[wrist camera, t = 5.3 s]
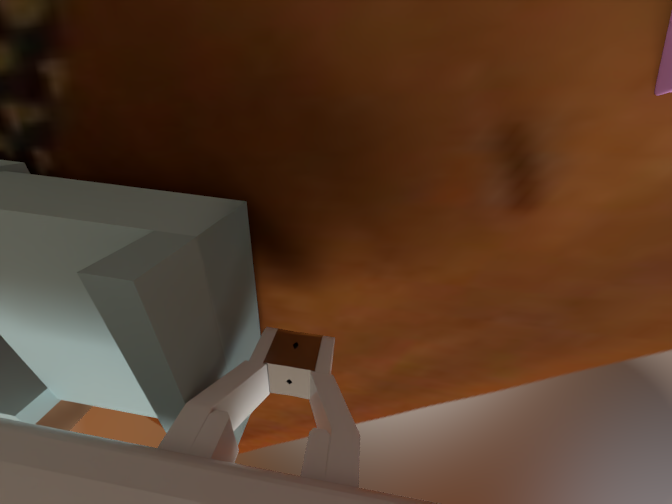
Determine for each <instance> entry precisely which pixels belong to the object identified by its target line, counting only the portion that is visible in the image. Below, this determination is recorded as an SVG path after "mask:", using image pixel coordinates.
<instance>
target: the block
mask: <svg viewBox="0 0 672 504" xmlns="http://www.w3.org/2000/svg"><path fill="white" fill-rule="evenodd" d="M91 407H92V406H91V405H86V404H81V403H76V402H70V401H65V400H60V401H59V402H58V403H57V404H56V405H55V406H54V407H53V408H52V409H51V410H50V411H49V412H48V413H46V414H45V415H44V416H43V417H42V418H41V419H40V420H39V421H38V422H37V423H36V425H41V426H46V427H51V428H56V429H62V430H67V431H70V429H72V428H73V426H74V425H75V424H76V423H77V422H78V421H79V420H80V419H81V418H82V417H83V416H84V415H85V414H86V413H87V412H88V411H89V409H91Z"/></svg>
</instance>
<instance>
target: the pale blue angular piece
mask: <svg viewBox="0 0 672 504" xmlns="http://www.w3.org/2000/svg"><path fill="white" fill-rule="evenodd" d="M260 337H261V334H260V325H259V315H258V306H257V296H256V287H255V277H254V268H253V258H252V248H251V239H250V229H249V220H248V210H247V201H240V200H232V199H224V198H216V197H208V196H200V195H193V194H185V193H177V192H169V191H161V190H153V189H145V188H137V187H129V186H121V185H113V184H105V183H97V182H90V181H82V180H74V179H66V178H58V177H50V176H42V175H34V174H30V172H29V171H28V169H27V167H26V165H25V163H23V162H15V161H7V160H0V418H5V419H10V420H16V421H21V422H26V423H31V424H36V423H37V422H38V421H39V420H40V419H41V418H42V417H43V416H44V415H45V414H46V413H48V412H49V411H50V410H51V409H52V408H53V407H54V406H55V405H56V404H57V403H58V402H59V401H60V400H65V401H70V402H76V403H81V404H86V405H91V406H97V407H103V408H108V409H113V410H118V411H123V412H128V413H134V414H139V415H144V416H149V417H155V418H158V419H159V421H160V423H161V424H162V426H163V428H164V430H165V431H166V433H167V432H168V431H169V429H170V427H171V426H172V424H173V423H174V421H175V420H176V418H177V416H178V415H179V413H180V412H181V410H182V409H183V407H184V406H185V404H186V403H187V402H188V401H190V400H191V399H193V398H194V397H195V396H197V395H198V394H199V393H201V392H202V391H204V390H205V389H206V388H208V387H209V386H210V385H212V384H213V383H215V382H216V381H217V380H219V379H220V378H222V377H223V376H224V375H226V374H227V373H228V372H230V371H231V370H233V369H234V368H235V367H237V366H238V365H239V364H241V363H242V362H244V361H245V360H247V361H249V360H250V358H251V356H252V353H253V351H254V349H255V347H256V345H257V343H258V341H259V339H260ZM249 416H250V415H249ZM249 416H248V417H247V418H246V419H245V420H244V421H243V422H242V423H241V424H240V425H239V426H238V427H237V428H236V429H235V430H234V435H235V439H236V442H237V446H238V444H239V441H240V439H241V436H242V434H243V431H244V429H245V426H246V424H247V421H248V419H249Z"/></svg>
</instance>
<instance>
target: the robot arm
mask: <svg viewBox="0 0 672 504" xmlns="http://www.w3.org/2000/svg"><path fill="white" fill-rule="evenodd" d="M334 343H335V338H334V337H328V336H323V335H316V334H309V333H302V332H300V333H299V332H294V331H288V330H283V329H277V328H271V327H266V328H265V330H264V331H263V333H262V335H261V337H260V339H259V341H258V343H257V345H256V347H255V349H254V351H253V353H252V356H251V358H250V360H249V361H247V360H245V361H244V362H242V363H241V364H239V365H238V366H237V367H235V368H234V369H233V370H231V371H230V372H228V373H227V374H226V375H224V376H223V377H222V378H220V379H219V380H217V381H216V382H215V383H213V384H212V385H210V386H209V387H208V388H206V389H205V390H204V391H202V392H201V393H199V394H198V395H197V396H195V397H194V398H193V399H191V400H190V401H188V402H187V403H186V404H185V406H184V407H183V409H182V410H181V412H180V413H179V415H178V416H177V418H176V420H175V421H174V423H173V424H172V426H171V427H170V429H169V431H168V432H167V434H166V435H165V437H164V438H163V440H162V441H161V443H160V445H159V446H158V448H153V447H149V446H143V445H138V444H133V443H128V442H123V441H118V440H112V439H107V438H103V437H97V436H92V435H87V434H82V433H77V432H72V431H67V430H62V429H56V428H51V427H46V426H41V425H36V424H31V423H26V422H21V421H16V420H10V419H5V418H0V504H440V503H434V502H430V501H424V500H419V499H414V498H409V497H404V496H398V495H394V494H388V493H384V492H378V491H373V490H368V489H363V488H359V455H360V434H359V432H358V429H357V427H356V425H355V423H354V420H353V418H352V416H351V414H350V412H349V409H348V407H347V405H346V403H345V400H344V398H343V396H342V394H341V392H340V389H339V387H338V385H337V383H336V380H335V378H334V376H333V375H331V368H332V360H333V351H334ZM269 392H270V393H277V394H284V395H291V396H296V397H301V398H305V399H309V401H310V404H311V408H312V411H313V414H314V418H315V421H316V425H317V428H318V429H317V428H313V429H312V430H311V431H310V432H309V437H308V442H307V447H306V451H305V456H304V461H303V466H302V471H301V476H296V475H292V474H287V473H281V472H276V471H271V470H266V469H261V468H256V467H251V466H246V465H241V464H235V463H234V462H235V459H236V457H237V454H238V451H239V450H238V446H237V442H236V439H235V435H234V430H235V429H236V428H237V427H238V426H239V425H240V424H241V423H242V422H243V421H244V420H245V419H246V418H247V417H248V416H249V415H250V414H251V413H252V412H253V411H254V410H255V409H256V408H257V406H258V405H259V404H260V403H261V402H262V401H263V400H264V399H265V398H266V397H267V396H268V395H269V394H270V393H269Z"/></svg>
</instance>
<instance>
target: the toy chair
mask: <svg viewBox="0 0 672 504" xmlns="http://www.w3.org/2000/svg"><path fill="white" fill-rule="evenodd" d="M671 91H672V12H671V16H670V21H669V26H668V30H667V35H666V40H665V44H664V49H663V54H662V58H661V63H660V68H659V72H658V77H657V82H656V87H655V95H657V96H658V95H662V94H665V93H668V92H671Z"/></svg>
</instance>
